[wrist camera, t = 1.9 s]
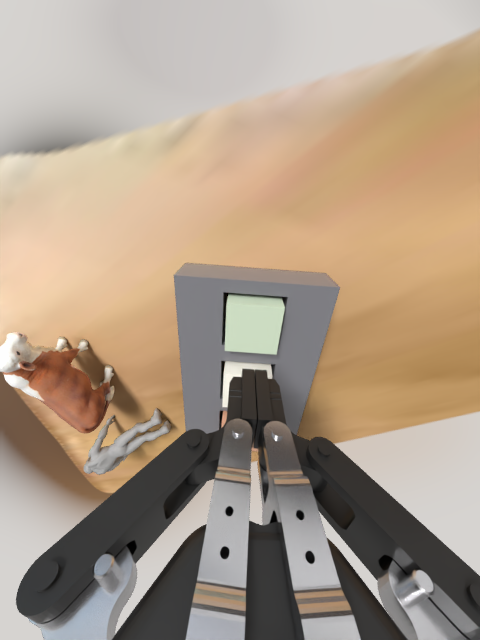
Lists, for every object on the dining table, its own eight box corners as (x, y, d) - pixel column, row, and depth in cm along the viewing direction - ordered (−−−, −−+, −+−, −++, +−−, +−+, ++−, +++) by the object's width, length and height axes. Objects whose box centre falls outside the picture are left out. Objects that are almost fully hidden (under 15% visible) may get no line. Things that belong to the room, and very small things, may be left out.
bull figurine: (66, 302, 25) (-7, 345, 18) (131, 387, 31) (95, 445, 24) (35, 313, 26) (-47, 358, 19) (104, 394, 32) (62, 451, 25)
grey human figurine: (152, 390, 35) (79, 433, 33) (150, 414, 30) (64, 466, 29) (174, 416, 37) (107, 456, 36) (176, 442, 32) (98, 490, 31)
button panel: (325, 273, 22) (340, 287, 19) (287, 423, 34) (291, 450, 30) (185, 262, 22) (173, 275, 19) (193, 417, 33) (186, 443, 30)
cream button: (269, 357, 25) (272, 376, 22) (264, 389, 27) (266, 410, 24) (226, 354, 25) (223, 373, 22) (224, 386, 27) (222, 407, 24)
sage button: (280, 293, 21) (285, 307, 19) (273, 336, 23) (276, 354, 21) (229, 290, 21) (226, 303, 18) (227, 333, 23) (224, 350, 21)
